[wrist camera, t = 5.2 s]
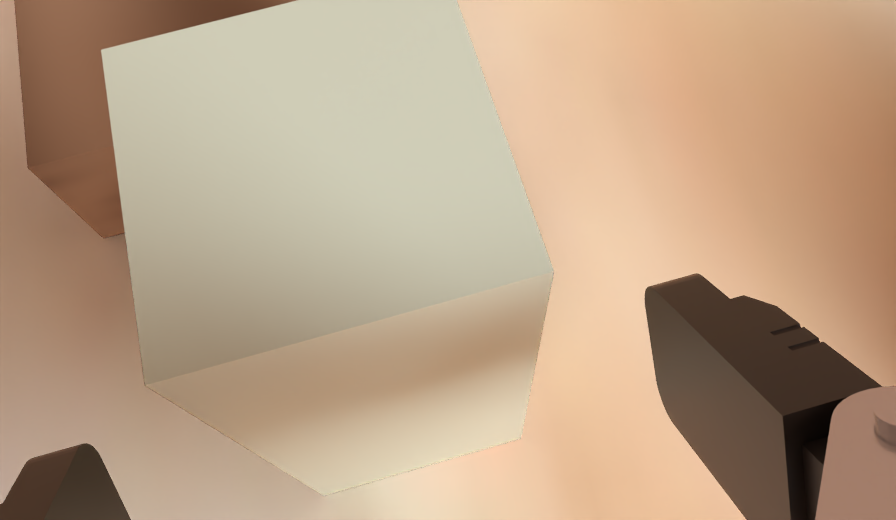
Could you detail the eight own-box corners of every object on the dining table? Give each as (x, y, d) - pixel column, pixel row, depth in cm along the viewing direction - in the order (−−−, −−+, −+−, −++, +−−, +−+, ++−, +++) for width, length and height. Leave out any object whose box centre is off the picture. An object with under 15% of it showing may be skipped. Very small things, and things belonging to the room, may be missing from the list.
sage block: (323, 496, 19) (144, 386, 9) (284, 309, 21) (101, 50, 11) (521, 438, 20) (554, 270, 10) (464, 259, 22) (443, -36, 12)
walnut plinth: (103, 238, 22) (27, 167, 19) (72, -29, 26) (3, -131, 23) (448, 146, 23) (440, 60, 19) (368, -102, 27) (348, -213, 23)
